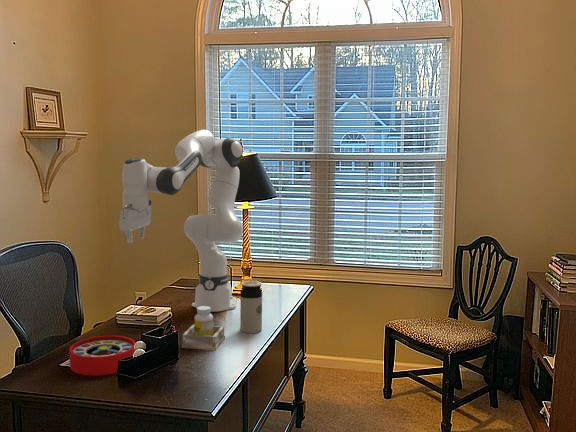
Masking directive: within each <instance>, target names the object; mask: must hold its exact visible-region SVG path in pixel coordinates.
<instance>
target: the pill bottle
mask: <svg viewBox="0 0 576 432" xmlns="http://www.w3.org/2000/svg"><path fill="white" fill-rule="evenodd" d="M196 312H197V314H195V315H194V317H193V318H194V325H195V335H208V336H213V326H214V316H213V314H212V313H211V308H210V307H209V306H200V307H197V308H196Z"/></svg>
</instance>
